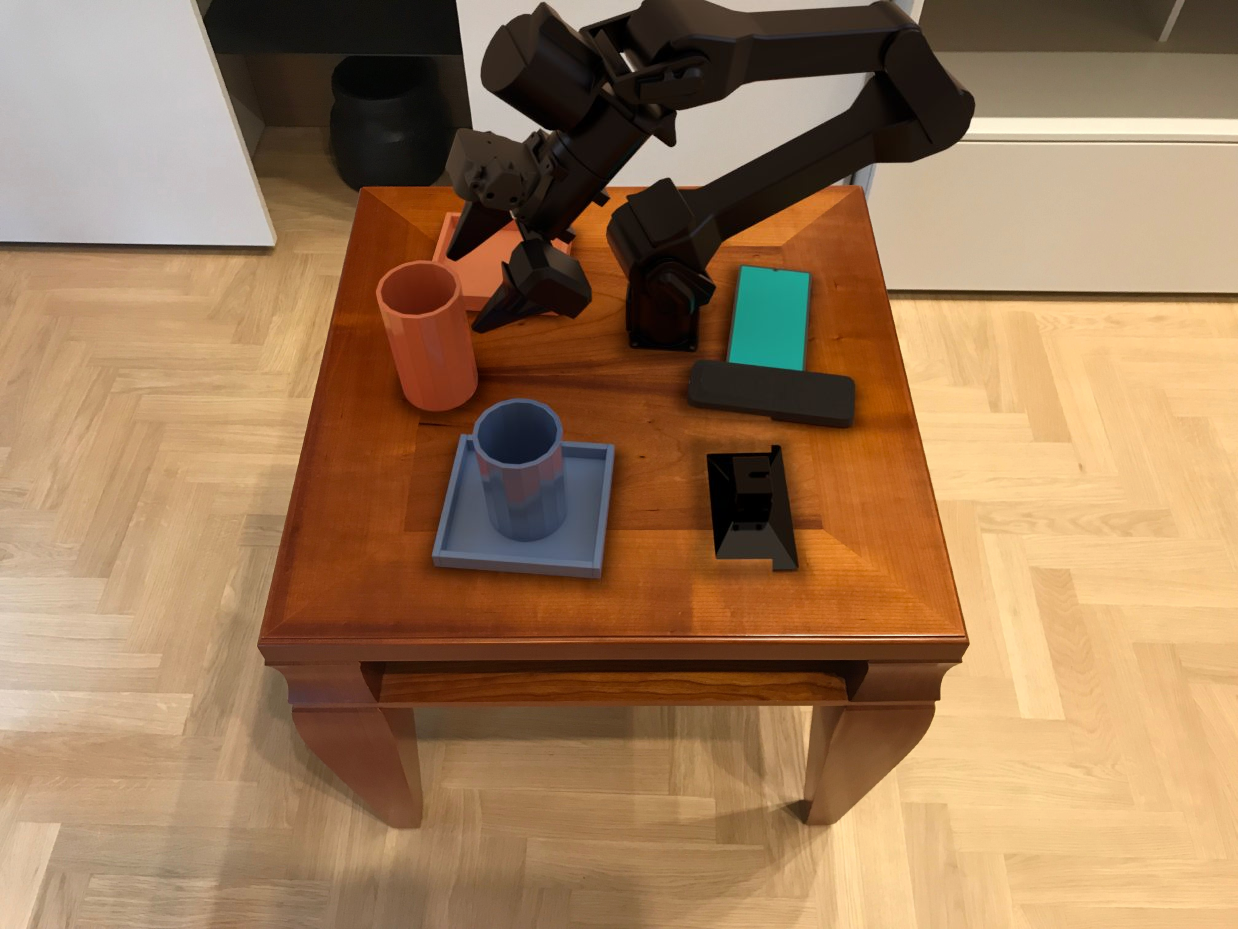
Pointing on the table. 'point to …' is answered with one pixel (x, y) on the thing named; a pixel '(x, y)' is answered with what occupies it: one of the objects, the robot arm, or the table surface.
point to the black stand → (751, 508)
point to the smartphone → (770, 317)
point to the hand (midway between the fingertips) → (462, 293)
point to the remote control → (773, 392)
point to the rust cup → (429, 334)
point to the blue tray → (562, 553)
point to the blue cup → (522, 468)
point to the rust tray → (483, 261)
